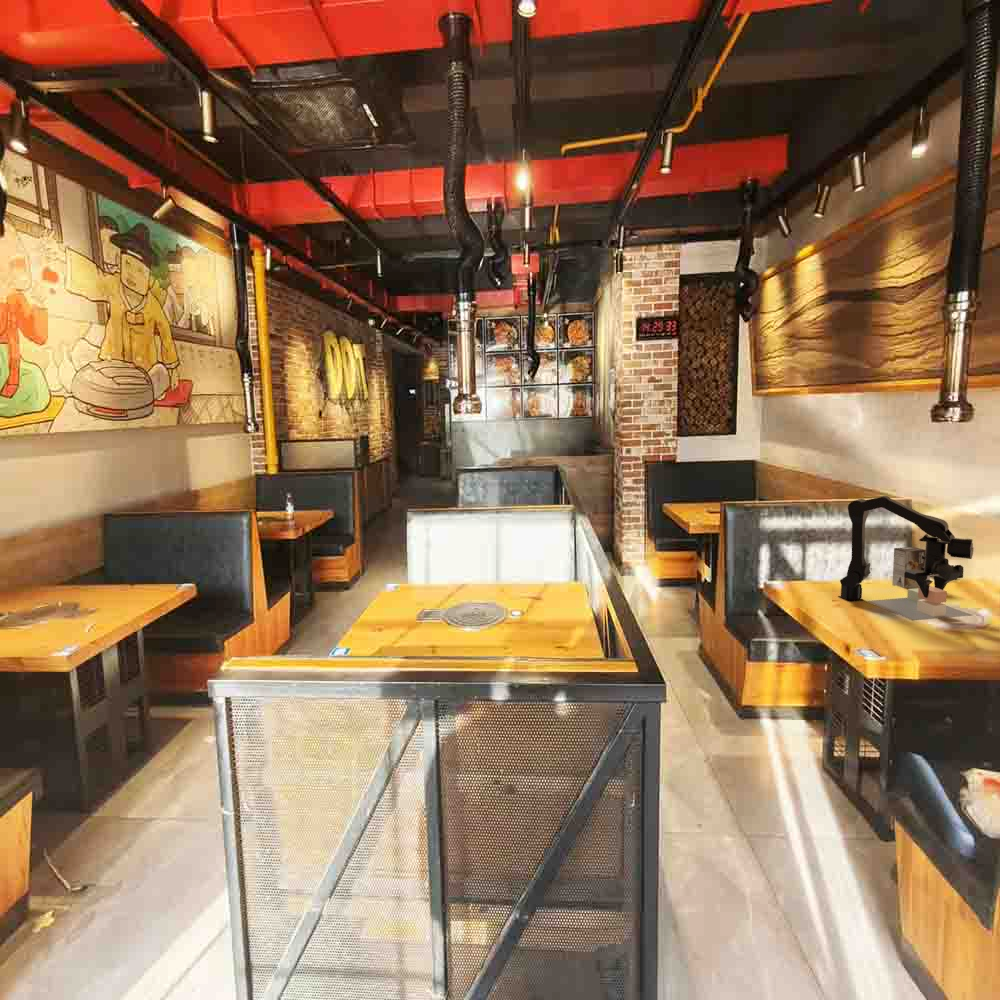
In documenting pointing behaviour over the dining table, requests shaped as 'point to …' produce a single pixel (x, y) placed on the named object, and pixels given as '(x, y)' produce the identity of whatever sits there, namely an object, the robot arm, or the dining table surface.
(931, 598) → the terracotta brick
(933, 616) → the baseplate
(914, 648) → the dining table surface
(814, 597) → the dining table surface
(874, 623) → the dining table surface
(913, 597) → the sage brick
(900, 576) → the coffee box
